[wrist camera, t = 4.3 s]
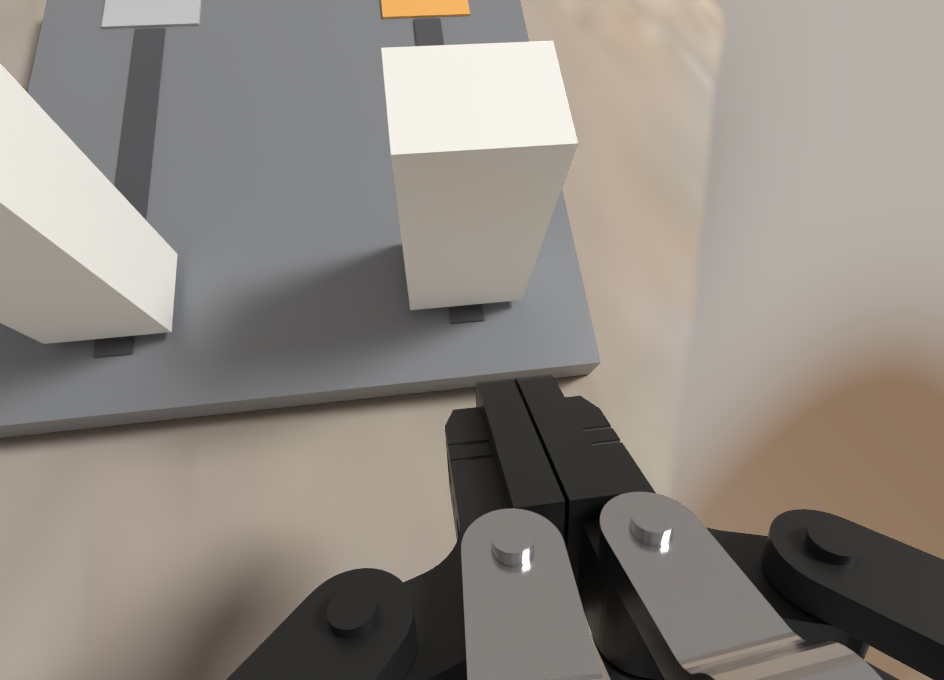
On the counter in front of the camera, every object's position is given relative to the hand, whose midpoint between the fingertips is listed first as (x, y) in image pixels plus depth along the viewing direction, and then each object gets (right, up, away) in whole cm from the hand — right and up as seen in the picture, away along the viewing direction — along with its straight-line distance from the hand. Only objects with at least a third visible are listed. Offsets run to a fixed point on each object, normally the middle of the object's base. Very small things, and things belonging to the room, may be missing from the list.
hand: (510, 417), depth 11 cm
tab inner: (-13, +3, +7) cm, 15 cm away
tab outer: (-1, +4, +8) cm, 9 cm away
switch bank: (-8, +9, +12) cm, 17 cm away
